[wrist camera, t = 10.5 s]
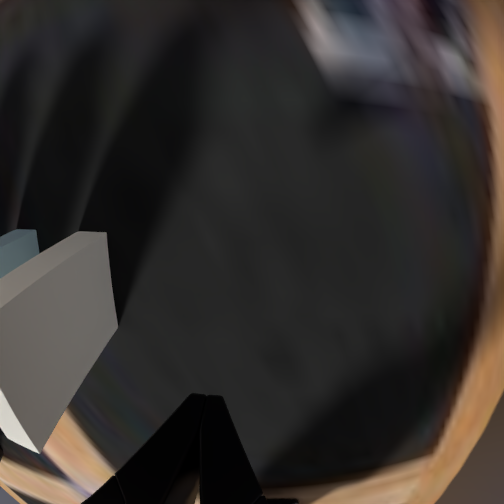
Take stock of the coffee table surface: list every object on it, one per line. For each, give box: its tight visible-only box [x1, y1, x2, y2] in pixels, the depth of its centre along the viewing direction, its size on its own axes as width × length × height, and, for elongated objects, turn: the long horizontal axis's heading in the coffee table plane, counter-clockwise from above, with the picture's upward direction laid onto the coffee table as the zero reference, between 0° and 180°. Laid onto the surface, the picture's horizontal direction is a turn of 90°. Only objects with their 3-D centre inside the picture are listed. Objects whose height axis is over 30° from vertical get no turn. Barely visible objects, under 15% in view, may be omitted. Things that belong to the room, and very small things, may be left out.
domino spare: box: [0, 231, 118, 454], centre depth 10 cm, size 2×5×8 cm, turn 177°
